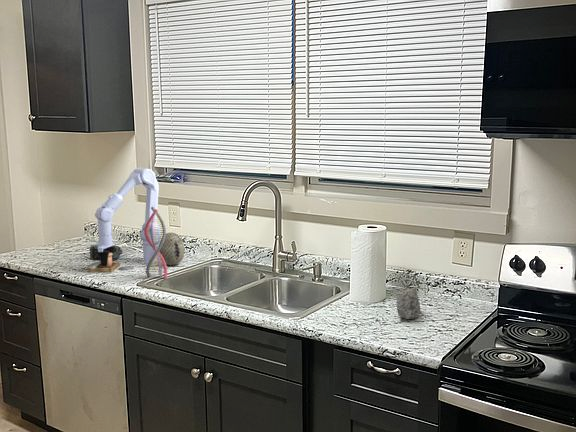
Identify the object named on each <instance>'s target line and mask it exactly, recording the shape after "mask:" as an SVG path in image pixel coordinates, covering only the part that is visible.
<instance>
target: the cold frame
mask: <svg viewBox="0 0 576 432" xmlns="http://www.w3.org/2000/svg"><path fill="white" fill-rule="evenodd" d="M120 267H121V262H120V261H112V267H110V268H101V261H100V260H95V261H94V262H92V263H90V264H89V265H88V266H86V267H85V269H86V270H88V273H104V274H105V273H106V274H107V273H109V274H110V273H113V272H114V271H115V270H117V269H119V268H120Z"/></svg>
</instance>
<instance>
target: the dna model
mask: <svg viewBox="0 0 576 432" xmlns="http://www.w3.org/2000/svg"><path fill="white" fill-rule="evenodd" d="M151 209H152V211H153V213H152V215H151V217H150V218H149V219H148V221H147V224H146V226H145V229H144V230H145V231H144V232H145V233H144V234H145V237H146V240H147V241H148V243H149V244H150V245H151V247H152V248H153V249H154V250H155V253H154V255H153V256H152V258H151V260H150V261H149V263H147V264H146V268H145V274H146V277H147V278H150V277H154V278H155V277H156V278H163V279H167V278H168V266H167V264H166V262H165V260H164V258H163V256H162V255H161V254H160V252H159V251H160V249H161V248H162V246H163V243H164V241H165V237H166V234H167V230H166V229H167V228H166V225H165V222H164V220H163V218H162V217H161V215H160V214H159V212H158V210H159V209H158V210H157V209H154V207H151ZM155 215H156V216H157V217H156V216H155ZM154 217H156V218H157V219H156V218H154ZM154 219H156V220H157V221H155V220H154ZM153 221H155V222H157V223H154V222H153ZM150 223H154V224H158V225H153V224H150ZM149 225H151V226H149ZM153 226H159V228H160V230H158V231H160V232H153V230H155V229H152V228H157V227H153ZM148 227H150V229H148ZM148 230H150V231H148ZM147 233H150V234H147ZM152 233H160V234H152ZM148 235H151V236H150V237H148ZM153 235H161V236H153ZM154 237H161V238H157V239H160V240H159V243H160V245H156V246H159V247H156V246H155V244H154V242H158V241H153V240H157V239H153V238H154ZM150 238H151V239H150ZM161 239H162V240H161ZM151 240H152V242H151ZM160 241H161V242H160ZM156 244H158V243H156ZM156 248H158V249H156ZM157 255H158V256H157ZM156 256H157V257H158V258H157V257H156ZM155 258H157V259H158V260H156V259H155ZM159 258H160V259H159ZM153 260H156V261H158V262H156V263H158V264H154V263H152V262H155V261H153ZM159 260H162V261H159ZM160 262H162V263H160Z"/></svg>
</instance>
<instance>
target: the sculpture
mask: <svg viewBox="0 0 576 432" xmlns="http://www.w3.org/2000/svg"><path fill="white" fill-rule="evenodd" d="M114 246H115V250H114V252H113V257H112V261H116V260H118V259H119V258H120V256H121V255H122V254H123V249H122V248H121V247H120V246H119V245H114ZM98 247H99V246H96V244H93V245H90V247H89V258H90V260H91V261H93V260H97V259H100V258H99V256H98V255H97V253H96V251H97V250H98Z"/></svg>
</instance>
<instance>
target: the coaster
mask: <svg viewBox="0 0 576 432" xmlns="http://www.w3.org/2000/svg"><path fill="white" fill-rule="evenodd" d="M134 269H135V266H129V265H128V266H127V265H125V266H119V267H118V270H119V271H123V272H125V271H131V270H134Z"/></svg>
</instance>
